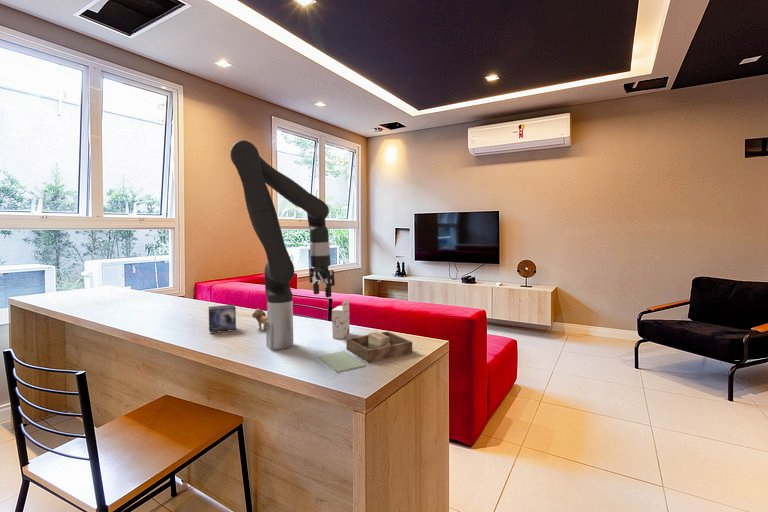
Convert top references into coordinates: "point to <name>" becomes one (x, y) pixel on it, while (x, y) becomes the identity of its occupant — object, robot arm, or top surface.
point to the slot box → (396, 349)
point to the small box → (222, 318)
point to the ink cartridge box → (340, 320)
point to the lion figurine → (260, 317)
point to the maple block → (377, 340)
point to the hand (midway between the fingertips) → (322, 295)
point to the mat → (341, 361)
